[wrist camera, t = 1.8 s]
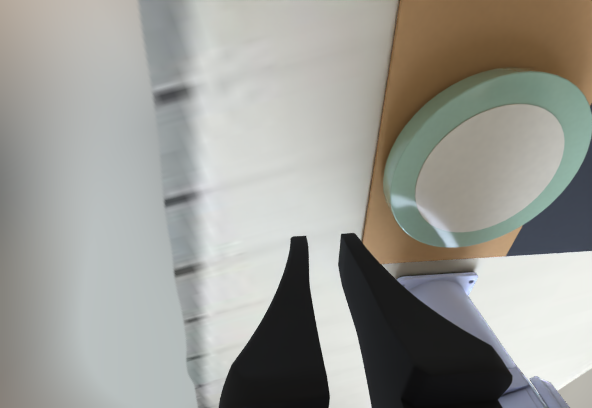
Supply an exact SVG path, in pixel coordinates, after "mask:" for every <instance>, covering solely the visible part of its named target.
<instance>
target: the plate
mask: <svg viewBox="0 0 592 408" xmlns="http://www.w3.org/2000/svg"><path fill="white" fill-rule="evenodd" d="M591 137H592V113H591V109H590V105H589V103H588V101H587V99H586V97H585V95H584V94H583V93H582V92H581V90H580V89H579V88H578V87H577V86H576V85H574V84H573V83H572V82H570V81H569V80H568V79H565V78H563V77H561V76H558V75H556V74H551V73H547V72H542V71H537V70H533V69H528V68H519V67H507V68H497V69H493V70H488V71H484V72H481V73H478V74H475V75H473V76H470V77H467V78H465V79H463V80H461V81H459V82H457V83H455V84H453V85H451V86H450V87H448V88H446V89H445V90H443V91H442V92H440V93H439V94H437V95H436V96H435V97H433V98H432V99H431V100H430V101H428V102H427V103H426V104H425V105H424V106H423V107H422V108H421V109H420V110H419V111H418V112H417V113H416V114H415V115H414V116H413V117H412V118H411V119H410V121H409V122H408V123H407V124H406V125H405V127H404V128H403V130H402V131H401V133H400V134H399V135H398V137H397V139H396V141H395V143H394V144H393V146H392V148H391V151H390V153H389V156H388V158H387V162H386V166H385V170H384V177H383V191H384V196H385V201H386V203H387V206H388V208H389V210H390V211H391V213H392V215H393V216H394V218H395V220H396V221H397V223H398V225H399V226H400V227H401V228H402V229H403V231H404V232H405V233H407V234H408V235H409V236H411V237H412V238H414V239H416V240H417V241H419V242H422V243H425V244H427V245H431V246H436V247H445V248H457V247H466V246H472V245H477V244H480V243H484V242H487V241H490V240H493V239H496V238H498V237H501V236H503V235H505V234H507V233H509V232H511V231H513V230H515V229H517V228H519V227H521V226H522V225H524V224H525V223H527V222H528V221H530V220H531V219H533V218H534V217H536V216H537V215H538V214H539V213H541V212H542V211H543V210H544V209H546V208H547V207H548V206H549V205H550V204H551V203H552V202H553V201H554V200H555V199H556V198H557V197H558V196H559V195H560V194H561V193H562V192H563V191H564V190H565V188H566V187H567V186H568V185H569V183H570V182H571V181H572V179H573V178H574V176H575V175H576V173H577V172H578V170H579V168H580V166H581V165H582V163H583V161H584V158H585V156H586V154H587V151H588V148H589V145H590V141H591Z"/></svg>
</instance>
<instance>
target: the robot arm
mask: <svg viewBox="0 0 592 408" xmlns="http://www.w3.org/2000/svg"><path fill="white" fill-rule="evenodd" d="M338 266H339V272H340V277H341V282H342V287H343V290H344V293H345V296H346V300H347V303H348V306H349V309H350V312H351V315H352V319H353V322H354V325H355V328H356V332H357V336H358V340H359V344H360V349H361V354H362V358H363V363H364V368H365V373H366V378H367V384H368V389H369V395H370V400H371V405H372V408H570V407H569V406H568V405H567V403H566V402H565V401H564V399H563V398H562V397H561V395H560V394H559V393H558V391H557V390H556V389H555V388H554V386H553V385H552V384H551V383H550V382H548V381H545V380H541V379H540V378H539V377H537V376H534V377H532V378H530V381H531V382H532V384H533V385H534V387H535V388H536V390H537V391H538V393H539V394H538V393H537V391H536V390H535V388H534V387H533V386H532V384H531V383H530V382H529V380H528V379H527V378H526V377H525V376H524V374H523V373H522V372H521V371H520V369H519V368H518V367H517V366H516V364H515V363H514V361H513V360H512V359H511V357H510V356H509V354H508V353H507V351H506V350H505V348H504V347H503V346H502V344H501V343H500V341H499V340H498V338H497V337H496V335H495V334H494V333H493V331H492V330H491V328H490V327H489V325H488V324H487V322H486V321H485V320H484V318H483V317H482V315H481V314H480V312H479V311H478V309H477V308H476V307H475V305H474V304H473V302H472V301H471V299H470V298H469V296H468V295H469V293H470V291H471V290H472V288H473V286H474V284H475V282H476V280H477V278H478V275H477V274H476V273H475V272H466V273H451V274H436V275H420V276H405V277H400V278H398V279H397V280H396V279H395V278H394V277H393V276H392V275H391V274H390V273H389V272H388V271H387V270H386V269H385V268H384V267H383V266H382V265H381V264H380V263H379V262H378V260H377V259H376V258H375V257H374V256H373V255H372V254H371V253H370V251H369V250H368V249H367V248H366V247H365V245H364V244H363V243H362V242H361V240H360V239H359V238H358V237H357V235H356V234H355V233H347V234H341V241H340V252H339V262H338ZM539 395H540V396H539ZM329 400H330V395H329V388H328V381H327V375H326V370H325V366H324V361H323V356H322V352H321V347H320V342H319V337H318V332H317V327H316V321H315V316H314V310H313V304H312V298H311V292H310V284H309V254H308V243H307V238H306V236H295V237H292V238H291V244H290V251H289V256H288V260H287V263H286V267H285V270H284V273H283V276H282V279H281V281H280V284H279V287H278V289H277V291H276V294H275V296H274V298H273V300H272V302H271V304H270V306H269V308H268V310H267V312H266V314H265V316H264V317H263V319H262V321H261V323H260V324H259V326H258V328H257V329H256V331H255V332H254V334H253V335H252V337H251V339H250V340H249V342H248V343H247V345H246V346H245V347H244V349H243V350H242V352H241V353H240V354H239V356H238V357H237V358H236V360H235V361H234V362H233V364H232V365H231V368H230V370H229V373H228V375H227V378H226V381H225V384H224V386H223V390H222V394H221V398H220V403H219V408H329Z"/></svg>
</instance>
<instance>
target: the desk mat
mask: <svg viewBox="0 0 592 408" xmlns="http://www.w3.org/2000/svg"><path fill="white" fill-rule="evenodd" d="M507 67H519V68H528V69H533V70H537V71H542V72H547V73H551V74H556V75H558V76H561V77H563V78H565V79H568V80H569V81H570V82H572V83H573V84H574V85H576V86H577V87H578V88H579V89H580V90H581V92H582V93H583V94H584V95H585V97H586V99H587V101H588V103H589V105H590V109H591V113H592V0H400V3H399V9H398V15H397V22H396V28H395V35H394V41H393V48H392V54H391V60H390V67H389V73H388V80H387V86H386V93H385V99H384V106H383V112H382V118H381V125H380V131H379V138H378V144H377V151H376V157H375V163H374V170H373V176H372V183H371V189H370V196H369V202H368V208H367V215H366V221H365V228H364V234H363V241H362V243H363V244H364V245H365V247H366V248H367V249H368V250H369V251H370V253H371V254H372V255H373V256H374V257H375V258H376V259H377V260H378V262H379V263H380V264H389V263H405V262H421V261H437V260H453V259H469V258H485V257H501V256H517V255H532V254H548V253H564V252H580V251H592V137H591V141H590V145H589V148H588V151H587V154H586V156H585V158H584V161H583V163H582V165H581V166H580V168H579V170H578V172H577V173H576V175H575V176H574V178H573V179H572V181H571V182H570V183H569V185H568V186H567V187H566V188H565V190H564V191H563V192H562V193H561V194H560V195H559V196H558V197H557V198H556V199H555V200H554V201H553V202H552V203H551V204H550V205H549V206H548V207H547V208H546V209H544V210H543V211H542V212H541V213H539V214H538V215H537V216H536V217H534V218H533V219H531V220H530V221H528V222H527V223H525V224H524V225H522V226H521V227H519V228H517V229H515V230H513V231H511V232H509V233H507V234H505V235H503V236H501V237H498V238H496V239H493V240H490V241H487V242H484V243H480V244H477V245H472V246H466V247H457V248H445V247H436V246H431V245H427V244H425V243H422V242H419V241H417V240H416V239H414V238H412V237H411V236H409V235H408V234H407V233H405V232H404V231H403V229H402V228H401V227H400V226H399V225H398V223H397V221H396V220H395V218H394V216H393V215H392V213H391V211H390V210H389V208H388V206H387V203H386V201H385V196H384V191H383V177H384V170H385V166H386V162H387V158H388V156H389V153H390V151H391V148H392V146H393V144H394V143H395V141H396V139H397V137H398V135H399V134H400V133H401V131H402V130H403V128H404V127H405V125H406V124H407V123H408V122H409V121H410V119H411V118H412V117H413V116H414V115H415V114H416V113H417V112H418V111H419V110H420V109H421V108H422V107H423V106H424V105H425V104H426V103H427V102H428V101H430V100H431V99H432V98H433V97H435V96H436V95H437V94H439V93H440V92H442V91H443V90H445V89H446V88H448V87H450V86H451V85H453V84H455V83H457V82H459V81H461V80H463V79H465V78H467V77H470V76H473V75H475V74H478V73H481V72H484V71H488V70H493V69H497V68H507Z"/></svg>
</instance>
